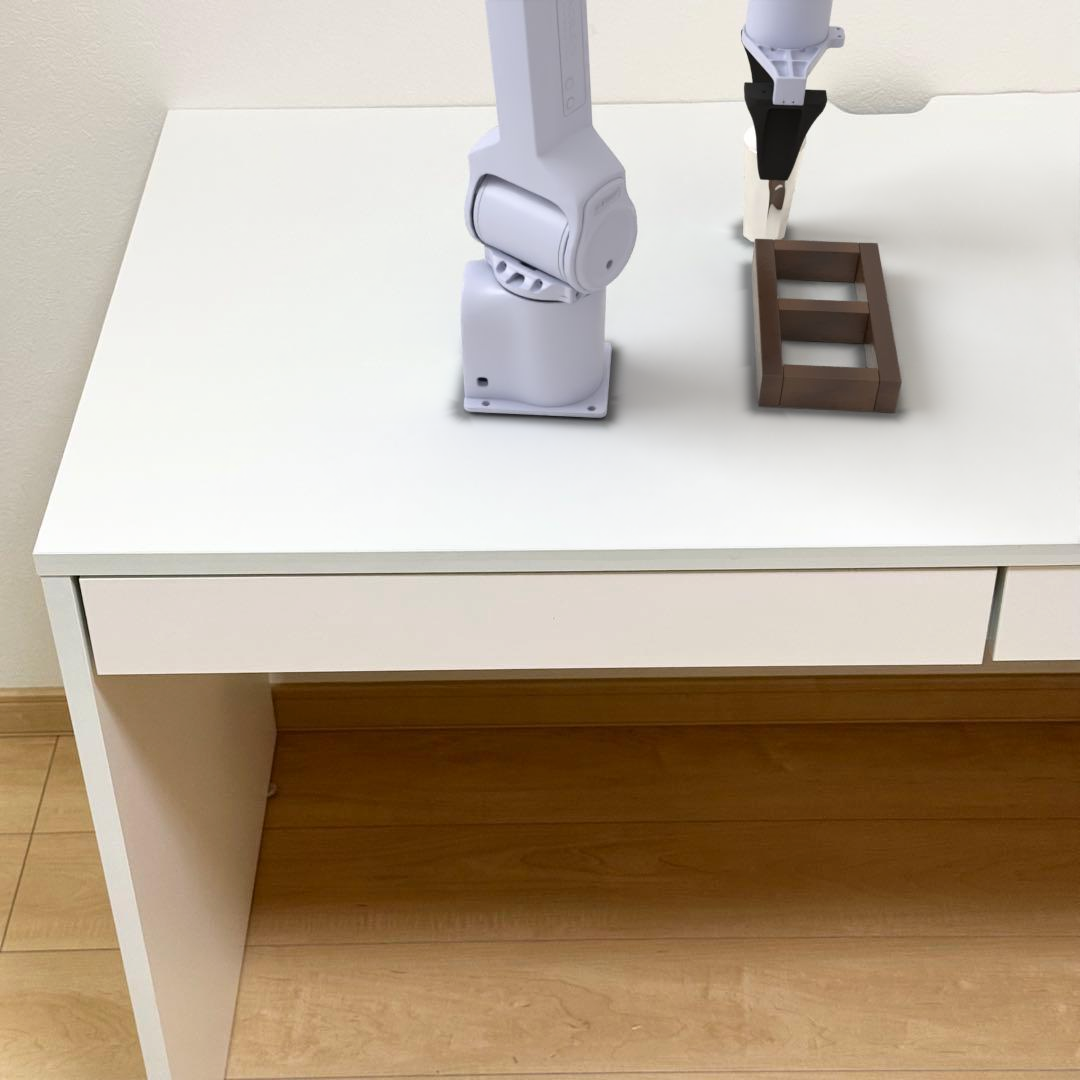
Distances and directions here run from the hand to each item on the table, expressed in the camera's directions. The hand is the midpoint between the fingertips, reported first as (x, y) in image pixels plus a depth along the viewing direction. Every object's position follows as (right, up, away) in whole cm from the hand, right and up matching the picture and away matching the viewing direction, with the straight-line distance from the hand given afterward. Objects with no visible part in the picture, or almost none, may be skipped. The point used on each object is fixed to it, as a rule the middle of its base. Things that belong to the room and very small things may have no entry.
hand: (771, 151), depth 101 cm
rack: (+2, -14, -5) cm, 15 cm away
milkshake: (0, -5, +5) cm, 7 cm away
